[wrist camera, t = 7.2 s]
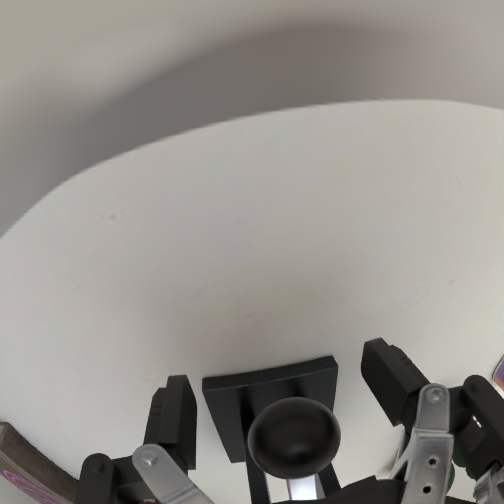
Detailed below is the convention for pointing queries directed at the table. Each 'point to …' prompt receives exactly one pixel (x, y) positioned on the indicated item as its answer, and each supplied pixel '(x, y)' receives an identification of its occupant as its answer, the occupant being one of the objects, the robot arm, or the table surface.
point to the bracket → (255, 400)
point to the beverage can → (499, 374)
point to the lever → (295, 443)
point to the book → (33, 470)
